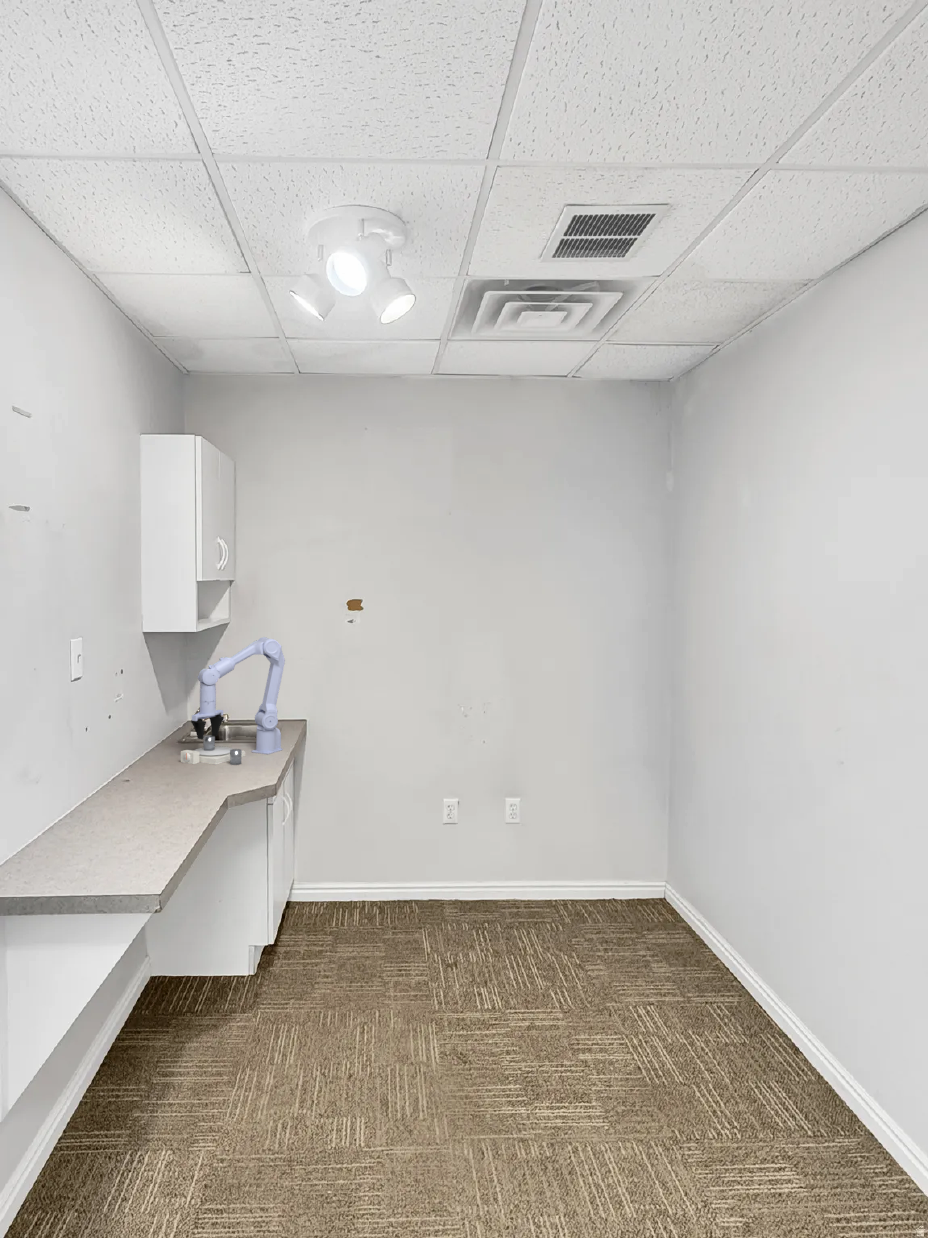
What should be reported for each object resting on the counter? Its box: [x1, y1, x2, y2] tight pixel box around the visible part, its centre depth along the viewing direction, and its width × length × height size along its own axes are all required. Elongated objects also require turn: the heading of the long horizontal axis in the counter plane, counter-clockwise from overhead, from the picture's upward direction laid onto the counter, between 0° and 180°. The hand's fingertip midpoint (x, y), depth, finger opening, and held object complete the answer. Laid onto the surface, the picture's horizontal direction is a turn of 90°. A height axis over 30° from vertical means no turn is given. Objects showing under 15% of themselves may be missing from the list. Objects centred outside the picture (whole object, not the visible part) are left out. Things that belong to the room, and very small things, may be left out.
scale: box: [180, 745, 246, 765], centre depth 309 cm, size 20×16×4 cm
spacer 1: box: [202, 734, 216, 751], centre depth 312 cm, size 4×4×5 cm
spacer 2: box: [229, 748, 243, 766], centre depth 303 cm, size 4×4×5 cm
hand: (207, 737), depth 312 cm, fingers open, 7 cm apart
